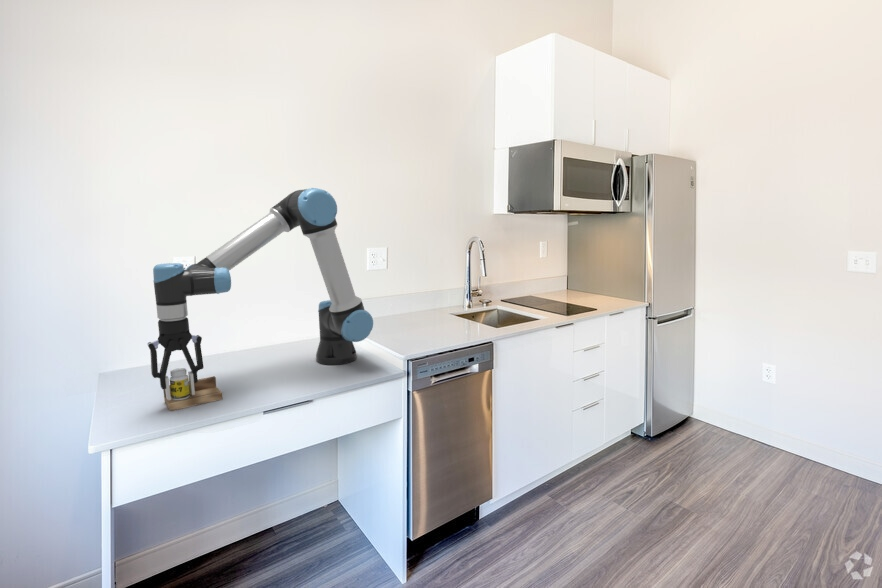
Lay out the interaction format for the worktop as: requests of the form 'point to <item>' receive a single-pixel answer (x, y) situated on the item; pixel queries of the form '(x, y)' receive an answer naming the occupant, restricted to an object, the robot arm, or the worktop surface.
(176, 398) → the supplement bottle
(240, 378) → the worktop surface
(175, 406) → the wooden stand
